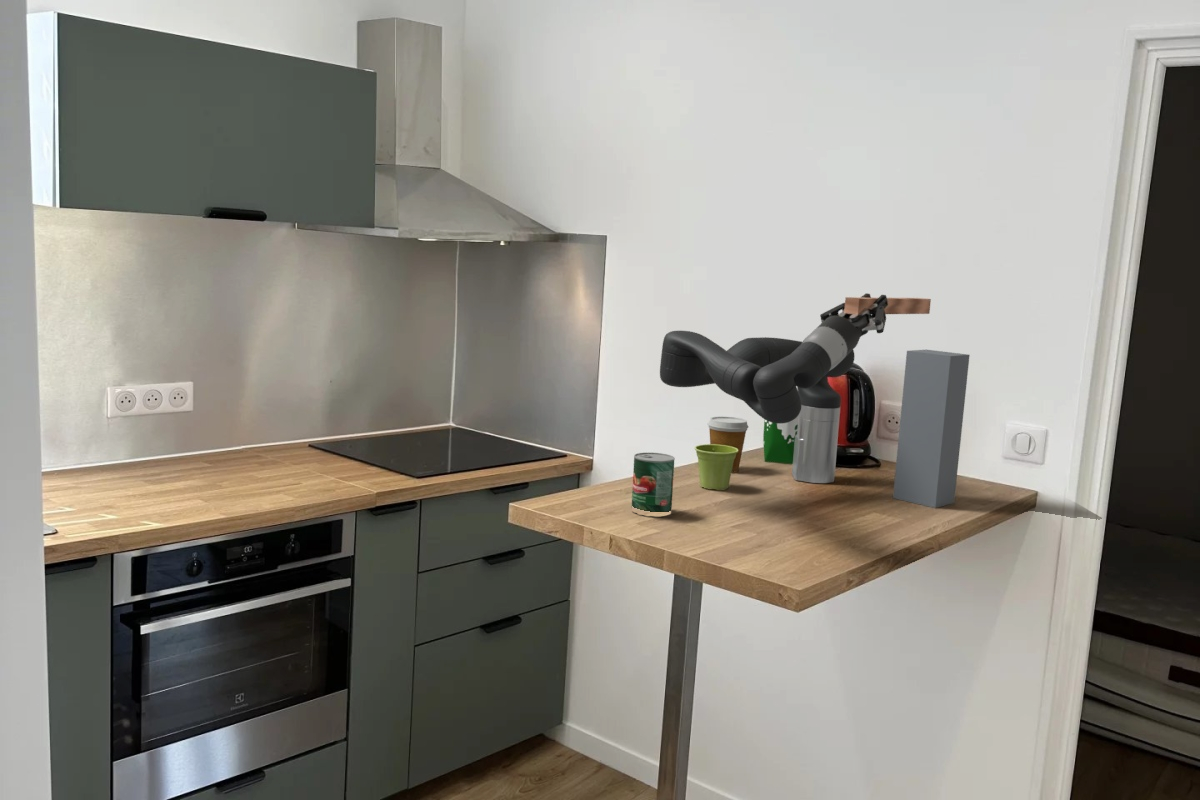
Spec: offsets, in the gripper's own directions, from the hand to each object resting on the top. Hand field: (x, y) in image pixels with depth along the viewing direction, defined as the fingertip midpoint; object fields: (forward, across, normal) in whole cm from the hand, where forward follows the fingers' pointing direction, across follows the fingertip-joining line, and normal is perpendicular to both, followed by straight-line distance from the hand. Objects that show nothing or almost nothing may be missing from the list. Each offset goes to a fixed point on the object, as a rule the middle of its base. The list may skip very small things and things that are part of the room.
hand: (876, 298), depth 199 cm
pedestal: (0, 0, +50) cm, 50 cm away
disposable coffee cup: (-12, +43, +43) cm, 62 cm away
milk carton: (+6, +43, +54) cm, 69 cm away
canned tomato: (-50, +25, +22) cm, 60 cm away
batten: (+3, 0, +5) cm, 5 cm away
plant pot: (-27, +32, +35) cm, 55 cm away
